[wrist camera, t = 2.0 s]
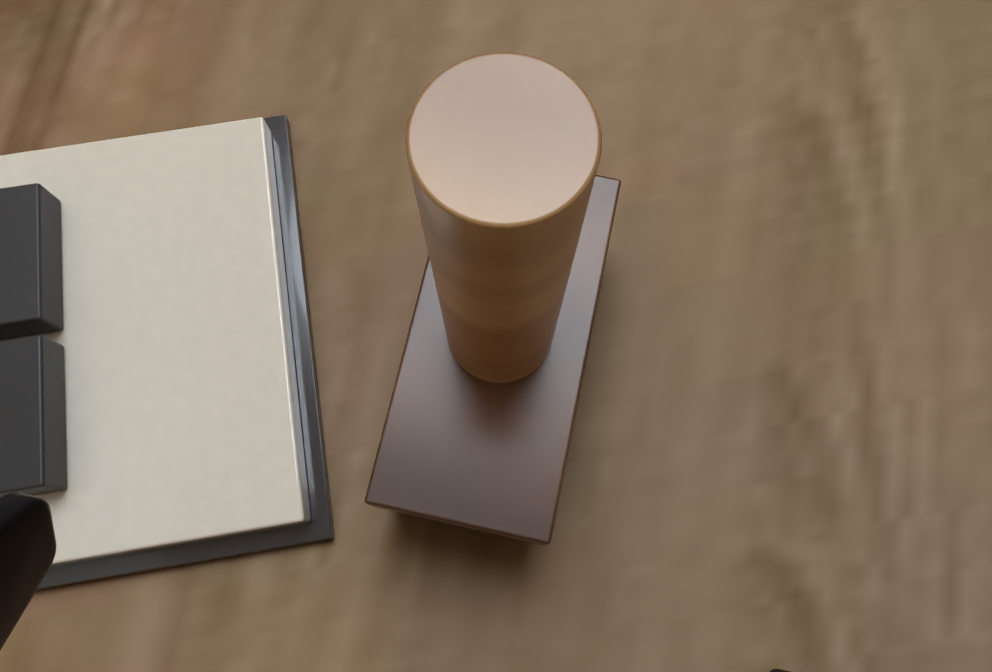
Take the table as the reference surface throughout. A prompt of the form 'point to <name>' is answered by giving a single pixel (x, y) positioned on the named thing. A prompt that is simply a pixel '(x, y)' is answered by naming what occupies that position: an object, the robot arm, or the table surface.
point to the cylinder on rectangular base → (497, 296)
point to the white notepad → (182, 350)
